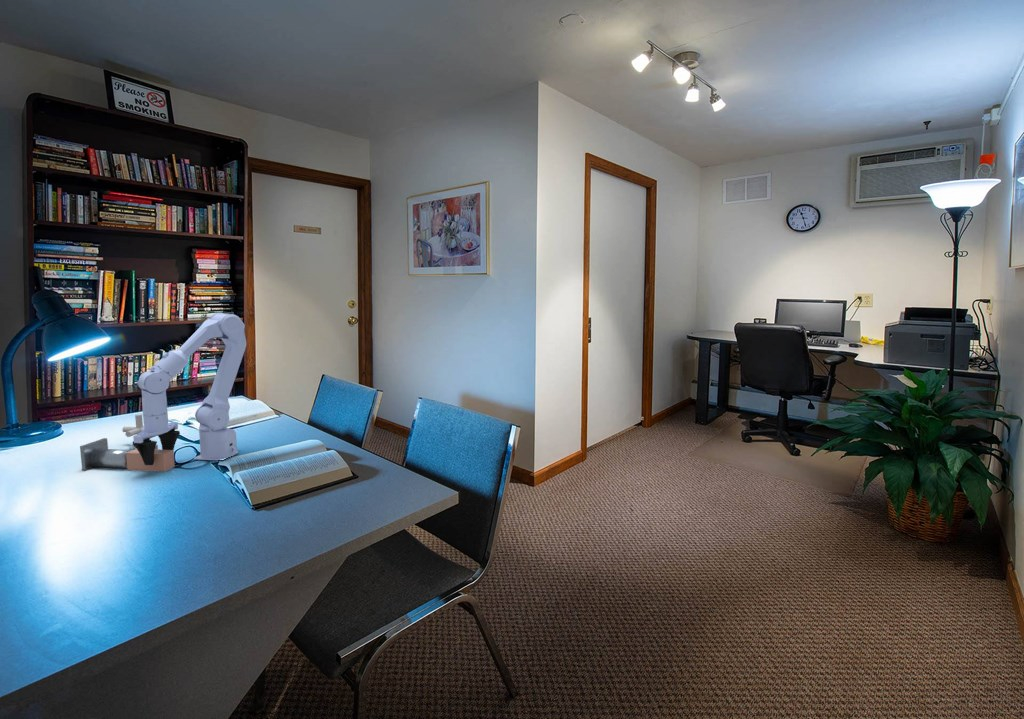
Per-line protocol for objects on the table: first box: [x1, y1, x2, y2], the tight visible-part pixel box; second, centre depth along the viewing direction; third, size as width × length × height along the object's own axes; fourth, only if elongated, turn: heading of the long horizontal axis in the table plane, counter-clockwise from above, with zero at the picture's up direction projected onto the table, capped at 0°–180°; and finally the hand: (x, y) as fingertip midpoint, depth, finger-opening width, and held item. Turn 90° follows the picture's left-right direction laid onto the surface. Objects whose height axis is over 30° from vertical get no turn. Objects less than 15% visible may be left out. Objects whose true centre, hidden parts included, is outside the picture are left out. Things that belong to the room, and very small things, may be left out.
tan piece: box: [126, 444, 176, 472], centre depth 150 cm, size 11×8×5 cm
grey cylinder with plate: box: [79, 437, 133, 472], centre depth 149 cm, size 11×8×7 cm
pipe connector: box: [121, 413, 144, 438], centre depth 169 cm, size 10×10×10 cm
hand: (158, 460), depth 148 cm, fingers open, 7 cm apart
